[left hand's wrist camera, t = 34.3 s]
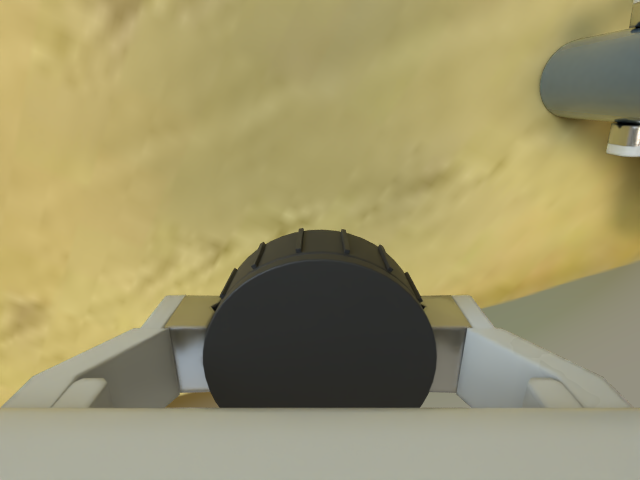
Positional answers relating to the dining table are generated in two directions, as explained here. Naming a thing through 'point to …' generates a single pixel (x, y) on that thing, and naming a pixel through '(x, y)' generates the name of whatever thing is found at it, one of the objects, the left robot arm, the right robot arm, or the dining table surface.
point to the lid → (319, 328)
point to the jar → (595, 78)
